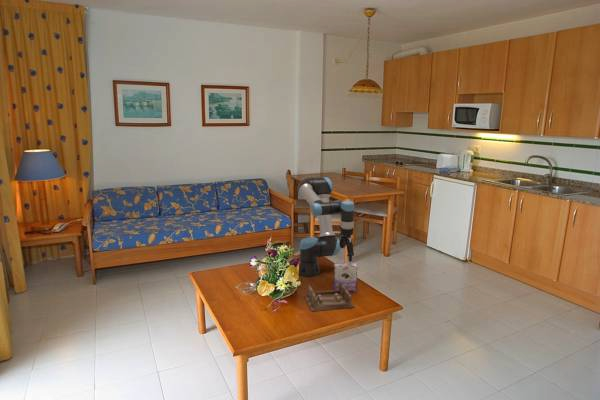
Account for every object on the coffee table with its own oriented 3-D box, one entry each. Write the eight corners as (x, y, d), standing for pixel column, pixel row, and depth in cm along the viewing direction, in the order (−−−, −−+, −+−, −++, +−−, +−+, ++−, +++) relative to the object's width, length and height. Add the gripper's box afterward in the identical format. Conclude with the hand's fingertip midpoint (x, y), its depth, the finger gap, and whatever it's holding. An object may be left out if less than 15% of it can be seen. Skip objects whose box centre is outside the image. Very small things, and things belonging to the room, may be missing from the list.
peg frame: (304, 296, 231) (304, 285, 230) (344, 293, 236) (344, 282, 234) (311, 311, 214) (311, 299, 213) (354, 307, 219) (354, 295, 217)
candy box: (356, 288, 243) (357, 262, 240) (356, 292, 238) (357, 266, 234) (333, 287, 245) (334, 261, 241) (333, 291, 239) (334, 265, 235)
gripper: (334, 222, 244) (334, 255, 248) (347, 234, 220) (346, 270, 225) (346, 221, 246) (345, 254, 250) (360, 233, 222) (359, 269, 226)
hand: (346, 262), depth 237 cm, fingers open, 13 cm apart
